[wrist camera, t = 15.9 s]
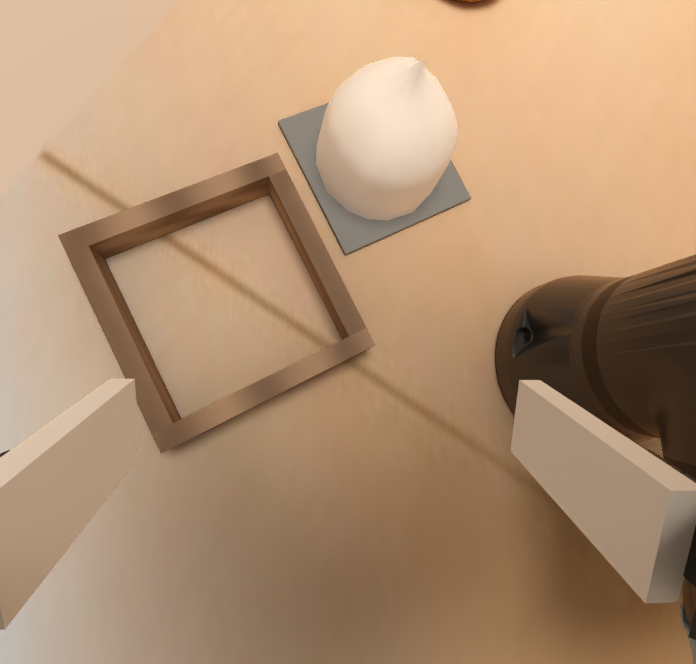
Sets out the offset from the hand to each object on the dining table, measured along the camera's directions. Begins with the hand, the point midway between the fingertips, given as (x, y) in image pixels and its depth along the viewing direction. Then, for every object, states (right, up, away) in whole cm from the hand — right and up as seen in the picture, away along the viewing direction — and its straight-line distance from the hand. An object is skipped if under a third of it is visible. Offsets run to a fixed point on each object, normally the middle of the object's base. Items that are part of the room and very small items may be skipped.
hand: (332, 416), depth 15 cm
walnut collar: (-9, +5, +20) cm, 22 cm away
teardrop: (+3, +18, +23) cm, 30 cm away
